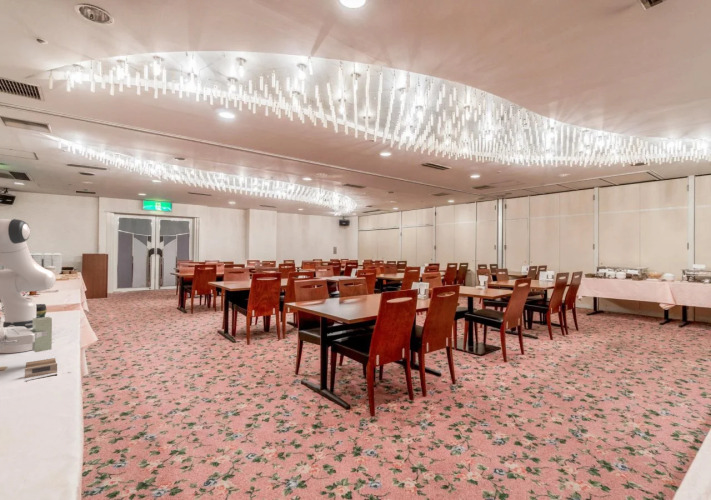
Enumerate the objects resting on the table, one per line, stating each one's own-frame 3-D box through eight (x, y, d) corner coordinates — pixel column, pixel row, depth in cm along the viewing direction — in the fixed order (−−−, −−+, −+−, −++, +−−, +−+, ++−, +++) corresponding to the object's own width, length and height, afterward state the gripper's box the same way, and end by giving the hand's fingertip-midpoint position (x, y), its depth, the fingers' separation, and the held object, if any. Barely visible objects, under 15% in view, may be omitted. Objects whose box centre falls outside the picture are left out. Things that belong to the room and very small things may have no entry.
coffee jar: (20, 340, 182) (21, 306, 182) (23, 337, 188) (24, 304, 188) (45, 338, 187) (45, 304, 188) (47, 335, 194) (47, 302, 194)
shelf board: (26, 365, 142) (26, 355, 142) (55, 360, 148) (55, 351, 148) (24, 381, 124) (24, 369, 124) (57, 375, 131) (57, 364, 131)
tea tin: (35, 352, 137) (35, 320, 137) (32, 349, 140) (32, 318, 140) (51, 349, 142) (52, 318, 141) (48, 347, 145) (49, 316, 144)
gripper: (1, 334, 124) (51, 328, 135) (-7, 326, 137) (39, 320, 148) (1, 352, 124) (51, 343, 135) (-8, 342, 137) (39, 335, 148)
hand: (44, 331), depth 142 cm, fingers closed on tea tin, 5 cm apart
